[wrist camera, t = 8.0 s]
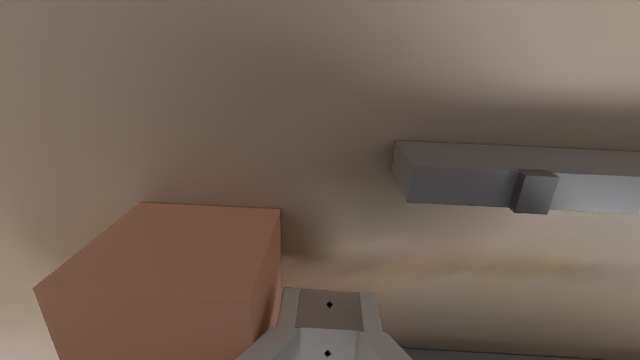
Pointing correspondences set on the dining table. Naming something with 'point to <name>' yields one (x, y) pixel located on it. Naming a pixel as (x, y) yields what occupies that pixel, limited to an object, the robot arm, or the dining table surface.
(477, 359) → the grey rail
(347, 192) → the dining table surface
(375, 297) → the robot arm
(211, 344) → the block
